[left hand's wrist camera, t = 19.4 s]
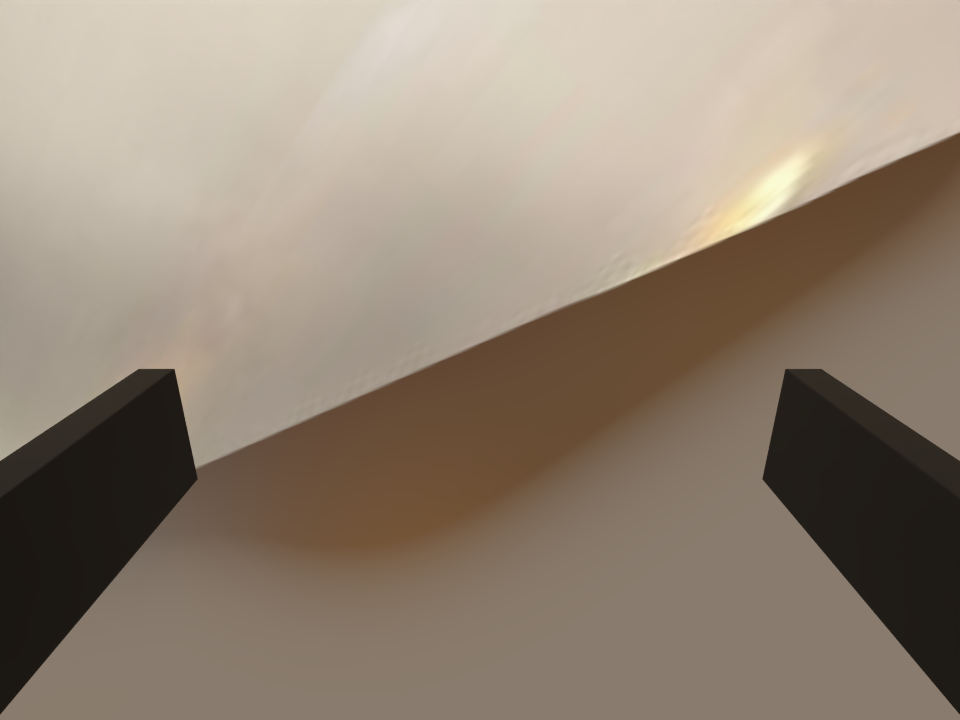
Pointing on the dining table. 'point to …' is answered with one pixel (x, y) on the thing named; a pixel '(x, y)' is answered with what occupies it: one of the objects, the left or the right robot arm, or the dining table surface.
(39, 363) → the dining table surface
